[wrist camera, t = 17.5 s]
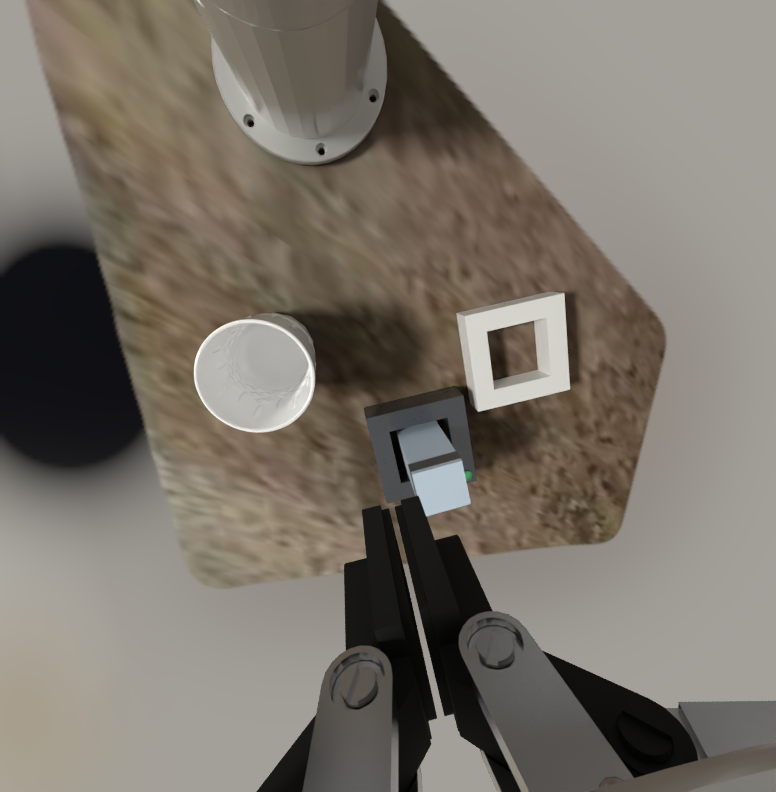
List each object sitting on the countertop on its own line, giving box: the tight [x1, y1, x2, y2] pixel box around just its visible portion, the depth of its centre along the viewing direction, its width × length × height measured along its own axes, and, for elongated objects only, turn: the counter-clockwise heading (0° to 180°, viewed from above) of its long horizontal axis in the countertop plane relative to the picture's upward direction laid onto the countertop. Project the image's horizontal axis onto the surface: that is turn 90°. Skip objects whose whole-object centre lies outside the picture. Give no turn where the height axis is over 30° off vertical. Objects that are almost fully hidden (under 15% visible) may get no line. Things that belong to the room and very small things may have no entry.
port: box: [364, 386, 477, 503], centre depth 39 cm, size 9×9×3 cm
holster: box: [456, 292, 570, 412], centre depth 37 cm, size 9×9×2 cm
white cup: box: [194, 312, 316, 432], centre depth 31 cm, size 8×8×10 cm
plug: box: [396, 421, 471, 516], centre depth 36 cm, size 4×4×10 cm
